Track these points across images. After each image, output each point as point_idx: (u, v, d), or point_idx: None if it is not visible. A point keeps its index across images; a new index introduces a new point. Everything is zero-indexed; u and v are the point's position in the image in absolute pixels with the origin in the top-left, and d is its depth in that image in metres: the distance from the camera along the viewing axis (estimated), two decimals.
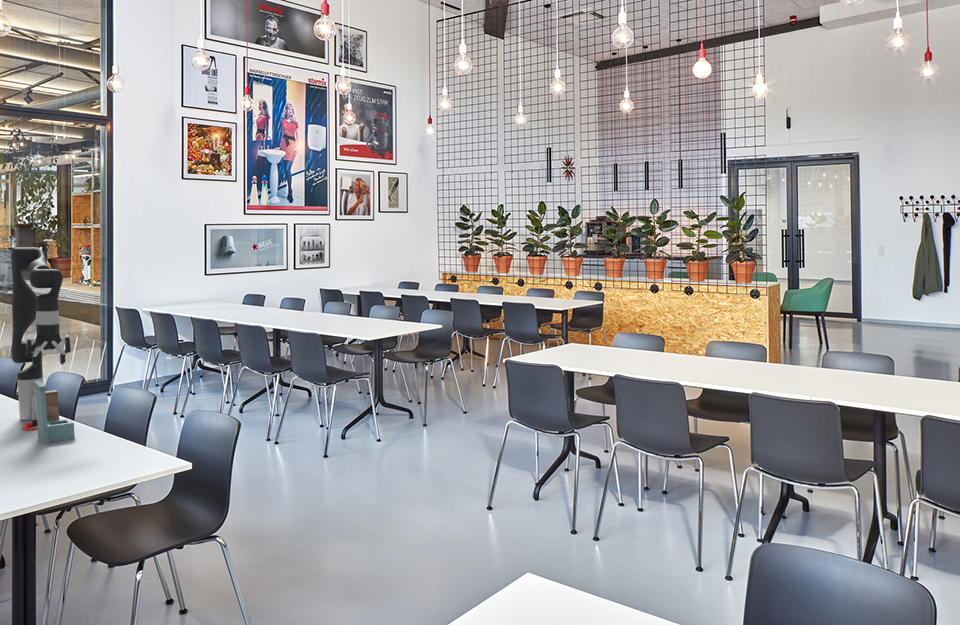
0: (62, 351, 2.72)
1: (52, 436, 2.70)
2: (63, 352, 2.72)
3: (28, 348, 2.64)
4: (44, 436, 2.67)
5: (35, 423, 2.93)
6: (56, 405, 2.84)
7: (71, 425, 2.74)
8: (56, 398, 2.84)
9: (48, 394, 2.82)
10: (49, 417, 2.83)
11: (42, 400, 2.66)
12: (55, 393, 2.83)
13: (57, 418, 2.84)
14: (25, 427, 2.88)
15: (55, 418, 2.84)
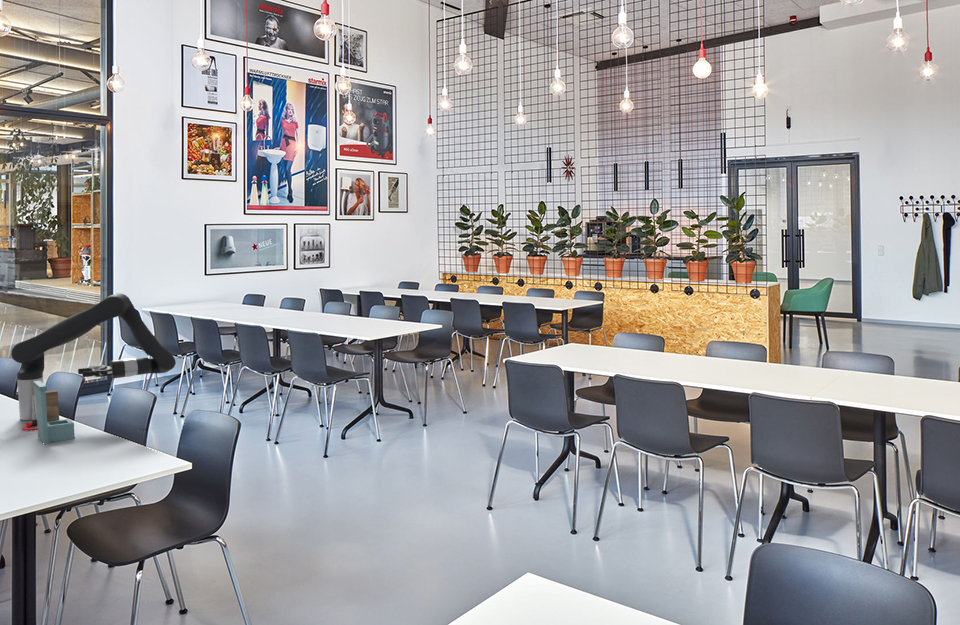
0: None
1: (52, 436, 2.70)
2: None
3: None
4: (44, 436, 2.67)
5: (35, 423, 2.93)
6: (56, 405, 2.84)
7: (71, 425, 2.74)
8: (56, 398, 2.84)
9: (48, 394, 2.82)
10: (49, 417, 2.83)
11: (42, 400, 2.66)
12: (55, 393, 2.83)
13: (57, 418, 2.84)
14: (25, 427, 2.88)
15: (55, 418, 2.84)
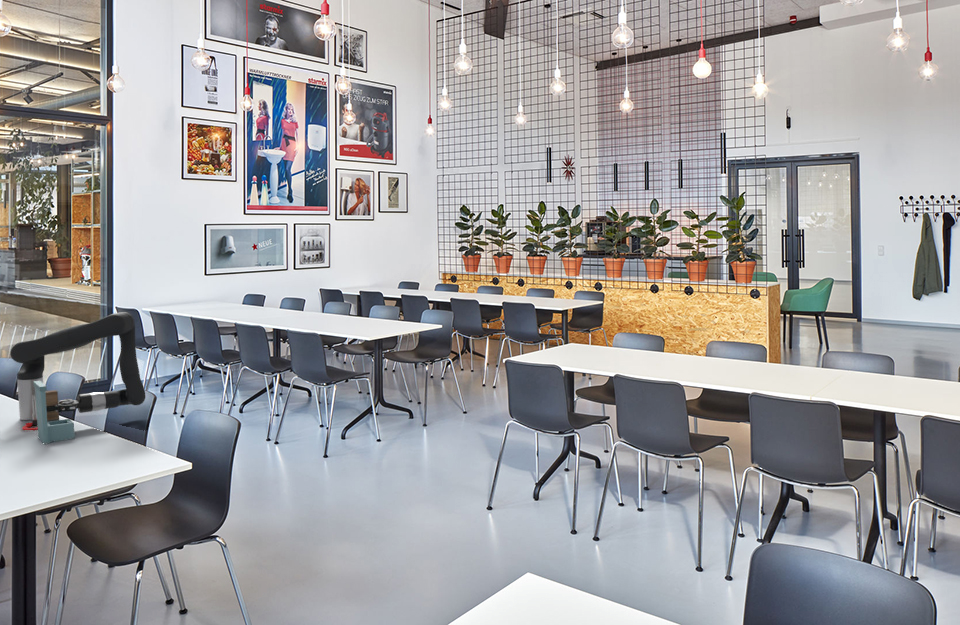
0: None
1: (52, 436, 2.70)
2: None
3: None
4: (44, 436, 2.67)
5: (35, 423, 2.93)
6: None
7: (71, 425, 2.74)
8: (56, 398, 2.84)
9: (48, 394, 2.82)
10: (49, 417, 2.83)
11: (42, 400, 2.66)
12: (55, 393, 2.83)
13: (57, 418, 2.84)
14: (25, 427, 2.88)
15: (55, 418, 2.84)
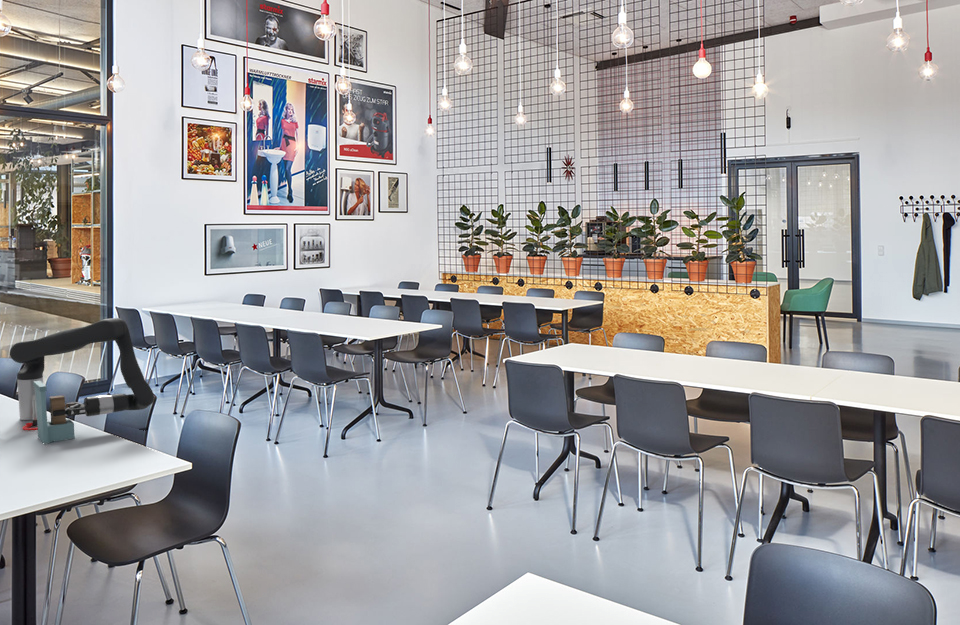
0: None
1: (52, 436, 2.70)
2: None
3: None
4: (44, 436, 2.67)
5: (35, 423, 2.93)
6: None
7: (71, 425, 2.74)
8: (63, 404, 2.74)
9: (55, 399, 2.72)
10: None
11: (42, 400, 2.66)
12: (62, 398, 2.74)
13: None
14: (25, 427, 2.88)
15: None
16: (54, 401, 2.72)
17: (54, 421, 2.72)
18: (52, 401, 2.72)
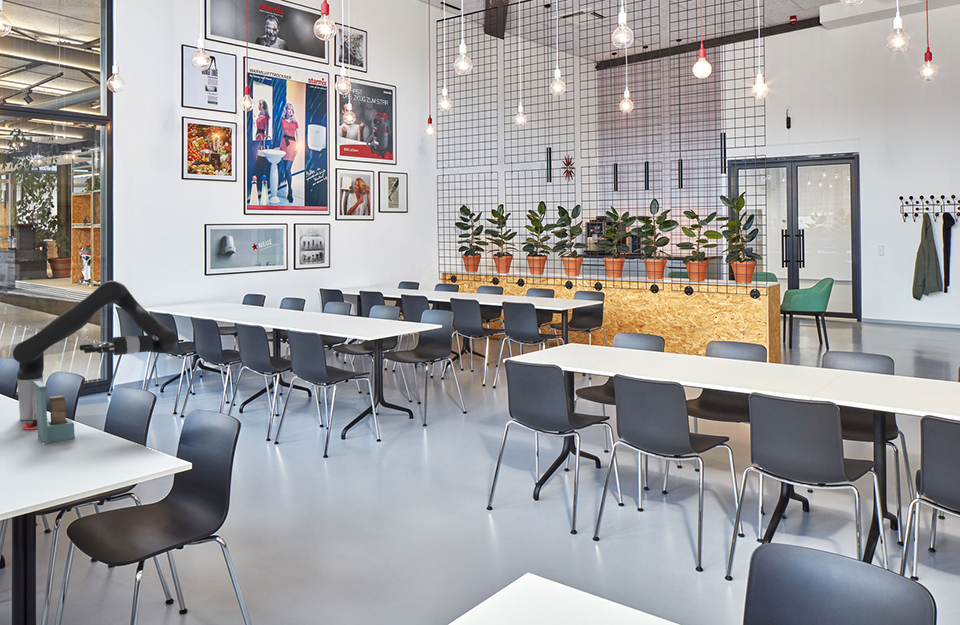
0: None
1: (52, 436, 2.70)
2: None
3: None
4: (44, 436, 2.67)
5: (35, 423, 2.93)
6: (63, 411, 2.74)
7: (71, 425, 2.74)
8: (63, 404, 2.74)
9: (55, 400, 2.72)
10: None
11: (42, 400, 2.66)
12: (62, 398, 2.74)
13: None
14: (26, 427, 2.88)
15: None
16: (54, 401, 2.72)
17: (54, 421, 2.72)
18: (52, 401, 2.72)
